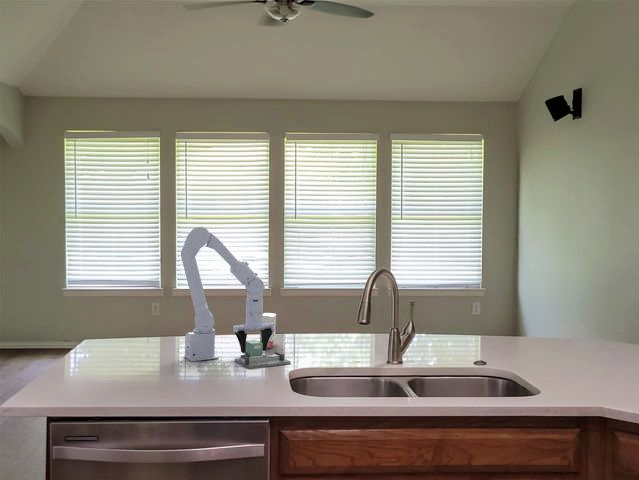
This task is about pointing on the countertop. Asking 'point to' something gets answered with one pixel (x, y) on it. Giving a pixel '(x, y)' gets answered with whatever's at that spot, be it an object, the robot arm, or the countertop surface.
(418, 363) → the countertop surface
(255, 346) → the block
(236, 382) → the countertop surface
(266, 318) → the ink box
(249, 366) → the rail plate
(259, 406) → the countertop surface
